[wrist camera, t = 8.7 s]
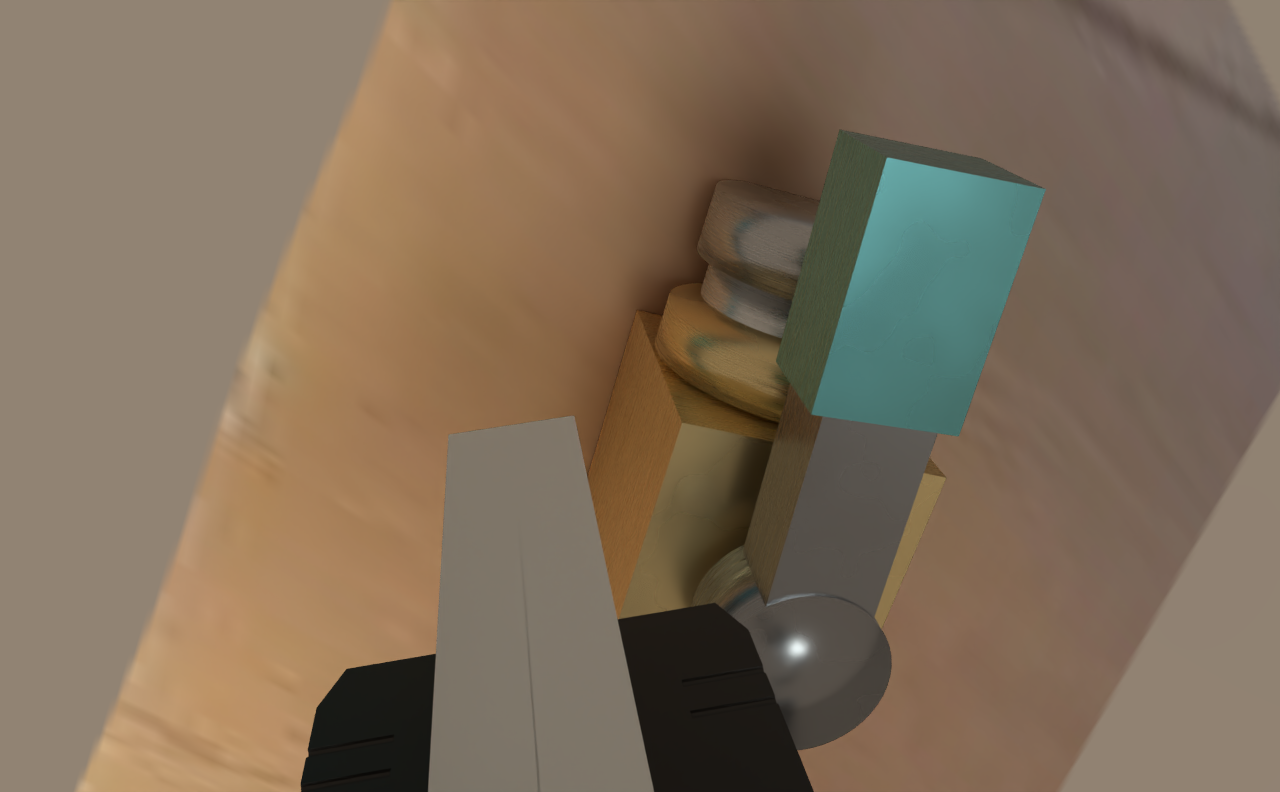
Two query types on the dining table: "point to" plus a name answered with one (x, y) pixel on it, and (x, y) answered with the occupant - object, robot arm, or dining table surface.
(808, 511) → the lever
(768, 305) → the pipe valve
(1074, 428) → the dining table surface
